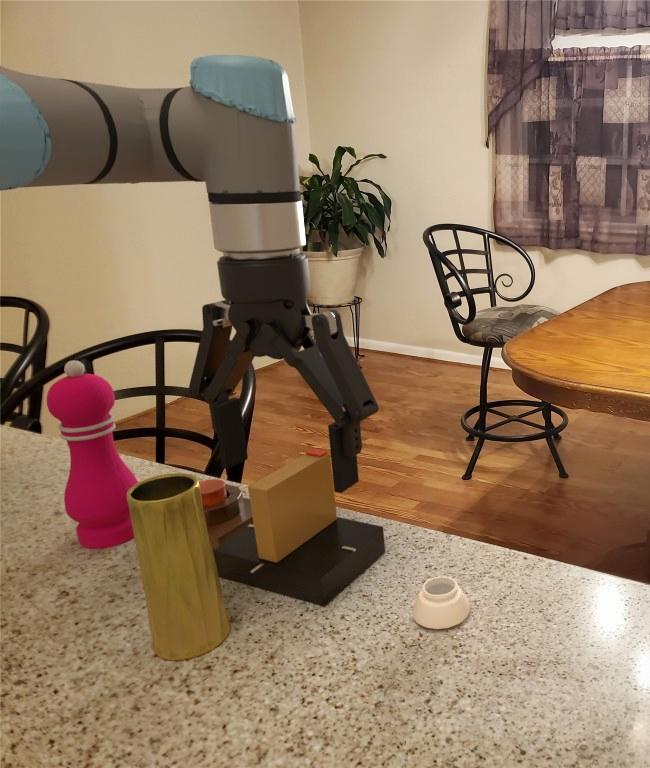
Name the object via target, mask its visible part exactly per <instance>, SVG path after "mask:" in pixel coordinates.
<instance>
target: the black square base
mask: <svg viewBox="0 0 650 768" xmlns="http://www.w3.org/2000/svg"><path fill="white" fill-rule="evenodd" d="M341 510H343V508H342V507H341V506H339V507H336V513H338V512H340V511H341ZM248 527H249V528H247V529H246V530H244V531H242V532H241V533H239V534H238V535H236V536H235V537H233V538H232V539H230V540H228V541H227V542H225V543H224V544H222V545H221V546H219V547H218V548H216V549H214V550H213V553H214V558H215V562H216V567H217V572H218V577H219V579H223V580H227V581H231V582H233V583H234V582H235V583H237V584H241V585H244V586H249V587H252V588H256V589H259V590H261V591H266V592H270V593H273V594H277V595H281V596H284V597H288V598H292V599H296V600H298V601H301V602H302V601H303V602H306V603H309V604H313V605H316V606H320V607H326V606H328V604H329V603H331V601H333V600H334V599H335V598H336V597H337V596H339V594H340V593H342V592H343V591H344V590H345V589H346V588H347V587H349V586H350V585H351V584H352V583H353V582H354V581H355V580H357V578H358V577H360V575H362V574H363V573H364V572H365V571H366V570H367V569H369V568H370V567H371V566H372V565H373V564H375V562H376V561H377V560H379V558H381V557H382V556H383V555H384V554H385V553H386V544H385V533H384V526H381V525H376V524H373V523H369V522H363V521H358V520H354V519H348V518H344V517H340V516H337V519H336V520H335V521H334V522H332V523H331V524H330V525H328V526H327V527H325V528H324V529H323V530H321V531H320V532H319V533H317V534H316V535H314V536H313V537H312V538H310V539H309V540H308V541H306V542H305V543H303V544H302V545H301V546H299V547H298V548H297V549H295V550H294V551H292V552H291V553H290V554H288V555H287V556H286V557H284V558H283V559H281V560H280V561H279V562H277V563H275V562H271V561H268V560H264V559H260V558H259V556H258V549H257V543H256V536H255V530H254V524H253V525H252V524H250V525H248Z"/></svg>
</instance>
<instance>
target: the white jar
mask: <svg viewBox="0 0 650 768" xmlns="http://www.w3.org/2000/svg"><path fill="white" fill-rule="evenodd" d="M470 611H471V605H470V601H469V599H468V597H467V596H466V594H465V592H464V591H463V590H462V588H461V587H460V586H459V584H458V582H457V581H456V580H455V579H454V578H452V577H450V576H443V575H441V576H439V575H438V576H434V577H432V578H431V577H430V578H429V579H427V580H426V581H425V582H424V583H423V585H422V588H421V589H420V591H419V593H418V595H417V597H416V599H415V601H414V602H413V605H412V618H413V619H414V621H415V622H416V624H418V625H420V626H422V627H424V628H428V629H434V630H442V629H449V628H452V627H454V626H457V625H459V624H461V623H462V622H463V621H464V620H466V619H467V618H468V616H469V615H470V614H469V613H470Z"/></svg>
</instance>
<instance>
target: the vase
mask: <svg viewBox="0 0 650 768" xmlns="http://www.w3.org/2000/svg"><path fill="white" fill-rule="evenodd" d="M199 482H200V481H199V479H198V477H196V476H195V475H193V474H190V473H183V472H175V473H166V474H165V473H164V474H160V475H157V476H152V477H148V478H146V479H143V480H141V481H138V483H137V484H135V485H134V486H133V487H131V488H130V489H129V490H128V492H127V502H128V505H129V510H130V515H131V521H132V527H133V532H134V542H135V548H136V554H137V559H138V565H139V571H140V577H141V582H142V588H143V592H144V593H143V594H144V599H145V603H146V610H147V617H148V623H149V629H150V635H151V648H152V651H153V652H154V654H155V655H156V656H157V657H158V658H160V659H163V660H167V661H187V660H190V659H194V658H197V657H200V656H202V655H205V654H207V653H210V652H211V651H212V650H214V649H215V648H218V647H219V646H220V645H221V644H222V643H223V642H224V641H225V639H227V637H228V635H229V633H230V631H231V622H230V619H229V617H228V615H227V612H226V606H225V601H224V596H223V591H222V586H221V582H220V578H219V577H218V572H217V567H216V562H215V558H214V553H213V549H212V546H211V543H210V539H209V536H208V532H207V526H206V520H205V515H204V510H203V505H202V498H201V489H200V484H199Z"/></svg>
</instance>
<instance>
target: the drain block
mask: <svg viewBox="0 0 650 768" xmlns="http://www.w3.org/2000/svg"><path fill="white" fill-rule="evenodd" d="M225 486H226V492H227V499H226V500H224V501H222V502H221V503H218V504H214V505H211V506H204V507H203V510H204V515H205V520H206V526H207V532H208V536H209V539H210V543H211V546H212V549H213V550H214V549H216V548H218V547H219V546H221V545H222V544H224V543H225V542H227V541H228V540H230V539H232V538H233V537H235V536H236V535H238V534H239V533H241V532H242V531H244V530H246V529H247V528H249V527H248V525H250V524H252V525H253V524H254V523H253V517H252V510H251V504H250V498H247V497H243V491H242V490H241V489H240V488H239V487H238V486H237V485H231V484H227V483H225Z"/></svg>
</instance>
